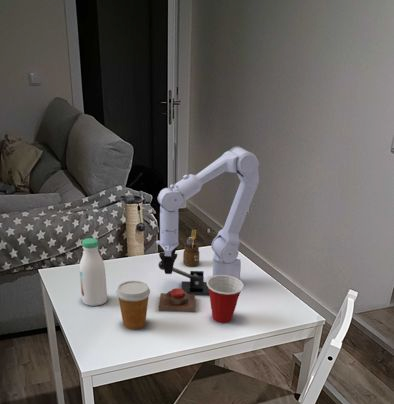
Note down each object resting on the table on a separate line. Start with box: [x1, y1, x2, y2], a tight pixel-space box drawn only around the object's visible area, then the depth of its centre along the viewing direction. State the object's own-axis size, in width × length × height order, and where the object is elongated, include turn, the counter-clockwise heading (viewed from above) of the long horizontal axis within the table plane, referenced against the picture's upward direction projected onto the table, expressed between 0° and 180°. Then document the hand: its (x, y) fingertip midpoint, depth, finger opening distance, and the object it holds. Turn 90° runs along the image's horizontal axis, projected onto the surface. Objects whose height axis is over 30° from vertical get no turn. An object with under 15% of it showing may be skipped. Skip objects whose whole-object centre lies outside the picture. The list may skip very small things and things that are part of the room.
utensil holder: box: [182, 229, 200, 267], centre depth 180 cm, size 6×6×12 cm
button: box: [170, 287, 184, 298], centre depth 153 cm, size 4×4×2 cm
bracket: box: [180, 270, 210, 297], centre depth 163 cm, size 10×8×6 cm
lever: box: [157, 260, 200, 279], centre depth 161 cm, size 15×3×3 cm, turn 90°
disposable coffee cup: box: [115, 280, 151, 331], centre depth 140 cm, size 10×10×12 cm
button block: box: [158, 290, 196, 313], centre depth 154 cm, size 11×9×4 cm
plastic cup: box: [206, 275, 245, 324], centre depth 145 cm, size 11×11×12 cm
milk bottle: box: [79, 237, 108, 307], centre depth 150 cm, size 8×8×20 cm
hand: (169, 268), depth 160 cm, fingers open, 7 cm apart
